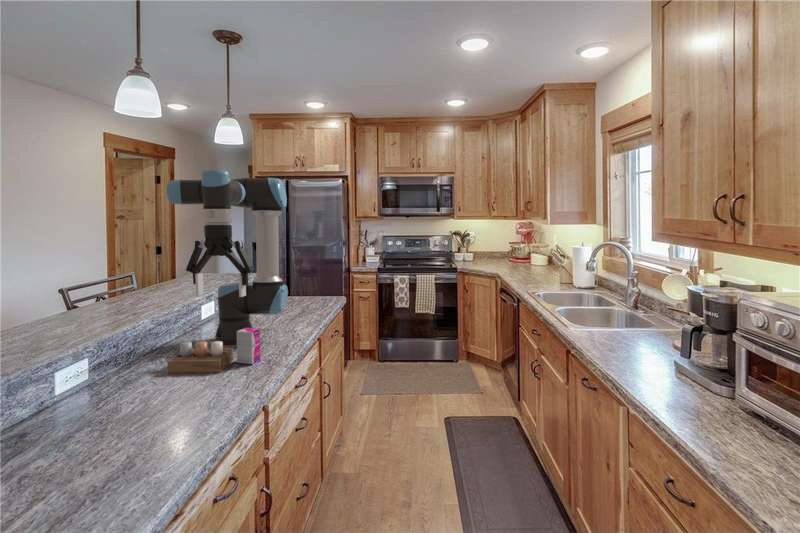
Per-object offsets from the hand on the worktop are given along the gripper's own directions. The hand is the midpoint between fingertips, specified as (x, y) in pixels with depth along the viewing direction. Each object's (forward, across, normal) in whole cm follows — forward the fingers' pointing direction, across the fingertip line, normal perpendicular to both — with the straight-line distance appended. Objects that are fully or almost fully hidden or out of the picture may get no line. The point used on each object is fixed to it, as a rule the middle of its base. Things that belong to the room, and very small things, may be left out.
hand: (221, 295), depth 136 cm
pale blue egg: (+22, -19, +10) cm, 31 cm away
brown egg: (+22, -14, +11) cm, 28 cm away
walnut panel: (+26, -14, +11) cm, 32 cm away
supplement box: (+26, -1, +17) cm, 31 cm away
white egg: (+22, -9, +12) cm, 27 cm away
